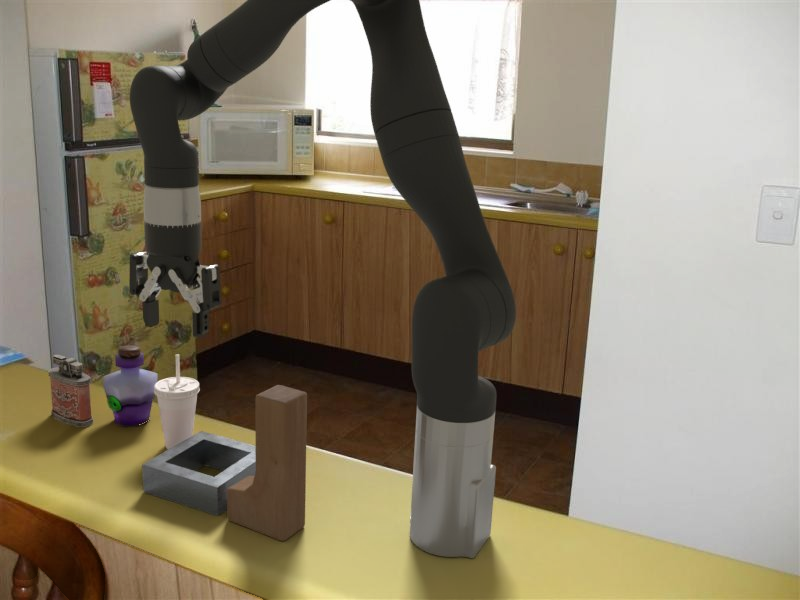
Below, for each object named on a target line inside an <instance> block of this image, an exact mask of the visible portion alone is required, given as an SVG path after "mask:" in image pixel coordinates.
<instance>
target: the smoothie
mask: <svg viewBox="0 0 800 600" xmlns="http://www.w3.org/2000/svg"><path fill="white" fill-rule="evenodd" d="M174 358H175V376H173V377H172V376H170V377H167V378H163V379H160V380H158V382H157V383H156V384H155V385H154V393H155V396H156V398H157V405H158V409H159V417H160V421H161V429H162V433H163V439H164V446H165V448H166V450H169V449H170V448H172V447H174V446H176V445H177V444H179V443H181V442H183V441H184V440H186V439H188V438H189V437H191V436H193V435H194V429H195V428H194V427H195V426H194V425H195V417H196V407H197V401H198V400H197V399H198V394H199V392H200V390H201V388H200V382H199V381H198V380H196V379H195V378H193V377H187V376H181V368H180V367H181V364H180V361H181V360H180V354H179V353H177V354H175V357H174Z"/></svg>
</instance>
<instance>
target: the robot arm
mask: <svg viewBox="0 0 800 600" xmlns="http://www.w3.org/2000/svg"><path fill="white" fill-rule="evenodd" d="M330 1H331V0H246V1H244V2H243V3H242V4H241V5H239V7H237V8H236V9H235V10H233V11H231V13H229V14H228V15H226V16H225V17H224V18H223V19H221V20H219V21H218V22H217V23H215V24H214V25H213V26H211V27H210V28H209V29H207V30H206V31H204V33H202V34H200V35H199V36H198V37H196V39H195V40H194V41H192V43H190V45H189V47H188V49H187V54H186V55H187V56H186V59H185V60H184V61H183V62H181V63H179V64H176V65H148V66H145V67H143V68H141V69H139V71H137V73H135V75H134V76H133V79H132V81H131V85H130V89H129V106H130V110H131V114H132V118H133V121H134V122H133V123H134V125H135V128H136V132H137V135H138V140H139V142H140V143H139V144H140V146H141V148H142V151H143V152H142V153H143V157H144V158H143V159H144V160H143V167H144V168H143V169H144V170H143V174H144V175H143V176H144V193H143V225H144V226H143V228H144V230H143V231H144V249H145V251H140V252H135V253H133V254H131V255H130V256H129V278H128V279H129V280H128V281H129V283H128V284H129V288H128V290H129V293H130V294H129V295H131V296H137V297H138V298H139V301H141V302H142V320H143V322H144V325H145V327H147V328H153V327H156V326H158V325H159V323H160V308H159V307H160V306H159V305H160V303H159V301H160V300H159V299H157V297H158V296H159V294H160V293H161V292H162V290H164V291H169V290H170V291H172V292H174V293H178V294H179V293H180V294H181V296H182V297H183V299H184V300H186V301H187V302H188V304H189V305H190V306H191V309H192V311H193V312H192V336H193V338H197V339H201V338H203V337H205V336H207V333H209V330H210V311H211V310H214V309H216V308H219V307H221V306H222V288H221V271H220V269H221V268H220V266H219V265H218V264H216V263H215V264H212V265H202V264H201V262H200V253H201V252H202V242H203V241H202V204H201V203H202V201H201V193H200V184H199V182H200V179H199V153H198V149H197V147H196V145H195V144H194V143H193V142H191V141H189V140H188V139H187V140H186V139H184V138H183V136H182V134H181V128H180V125H179V121H187V120H191V119H193V118H196V117H198V116H199V115H201V114H203V113H205V112H206V111H207V110H209V108H211V107H212V106H213V105H214V104H215V103H216V102H217V101H218V100H219V99H220V98H221V97H222V96H223V94H225V92H226V90H227V89H228V88H229V87H231V86H233V85H235V84H236V83H238V82H239V81H240V80H242V79H243V78H245V77H246V76H248V75H249V74H251V73H252V72H254V71H256V69H258V68H259V67H261V66H262V65H264V63H266V62H267V61H268V60H269V59H270V58H271V57H272V56H273V55H274V54H275V53H276V52H277V51H278V49H279V48H280V46H281V44H282V42H283V41H284V40H285V38H286V37H287V35H288V34H289V32H290V31H291V30H292V28H293V27H294V26H295V25H296V24H297V23H298V22H299V21H300V19H302V18H303V17H305V16H306V15H307V14H309V13H310V12H312V11H313V10H315V9H317V8H319V7H320V6H322V5H324V4H326V3H328V2H330ZM349 2H352V4H353V5H354V7H355V9H356V12H357V14H358V16H359V18H360V21H361V24H362V26H363V31H364V33H365V36H366V39H367V42H368V45H369V50H370V55H371V65H372V67H371V68H372V70H371V71H372V73H371V85H370V99H369V100H370V105H369V106H370V107H369V108H370V119H371V125H372V130H373V133H374V136H375V140H376V144H377V147H378V151H379V153H380V157H381V161H382V163H383V167H384V169H385V172H386V173H387V176H388V178H389V180H390V182H391V183H392V185H393V186H394V187H395V189H396V191H397V192H398V193H399V194H400V196H401V197H402V199H403V200H404V201H405V202H406V203H407V204H408V205H409V207H410V208H411V209H412V210H413V212H414V213H415V214H416V215H417V217H419V219H420V220H421V221H422V223H423V224H424V225H425V226H426V228H427V229H428V231H429V233H430V234H431V236H432V238H433V240H434V242H435V243H436V244H435V245H436V247H437V250H438V252H439V256H440V258H441V261H442V265H443V268H444V272H445V276H441V277H438V278H435V279H432V280H430V281H429V282H427V283H425V284H424V285H423V286H422V287H420V288H421V289H419V291H418V293H417V295H416V297H415V300H414V303H413V307H412V312H411V313H412V315H411V376H412V377H411V378H412V379H411V380H412V383H413V386H414V388H415V391H416V392H415V393H416V397H417V399H416V419H415V432H414V452H413V454H414V455H413V465H412V466H413V471H412V484H411V485H412V487H411V505H410V518H409V523H410V525H409V537H410V540H411V542H412V543H413V544H414V545H415V546H416V547H418V548H419V549H421V550H422V551H424V552H427V553H428V554H431V555H435V556H440V557H445V558H446V557H449V558H455V557H466V558H470V559H474V558H475V557H476V556H477V554H478V553H479V551H480V550H481V549H482V547H483V546H484V545H485V543H486V541H487V540H488V539H489V538H490V536H491V533H492V521H493V520H492V519H493V509H494V508H493V507H494V497H495V485H496V473H497V472H496V471H497V467H496V465H495V464H492V456H493V455H492V454H493V444H494V433H495V431H494V430H495V418H496V411H497V410H496V409H497V398H498V397H497V389H496V387H495V386H494V384H493V383H492V382H491V381H490V380H488V379H486V378H485V377H483V376H480V375H479V352H480V351H483V350H485V349H489V348H490V347H493V346H496V345H498V344H500V343H502V342H503V341H505V340H506V339H508V338H509V336H510V335H511V333H512V332H513V330H514V327H515V323H516V320H517V319H516V318H517V306H516V301H515V296H514V295H515V294H514V293H513V290H512V286H511V283H510V281H509V278H508V276H507V272H506V270H505V268H504V266H503V264H502V261H501V259H500V256H499V253H498V252H497V249H496V247H495V245H494V242H493V240H492V238H491V237H492V236H491V234H490V232H489V229H488V226H487V225H486V222H485V218H484V217H483V213H482V210H481V207H480V203H479V200H478V197H477V193H476V190H475V188H474V185H473V182H472V181H473V180H472V178H471V175H470V171H469V168H468V165H467V162H466V158H465V155H464V151H463V146H462V143H461V139H460V135H459V132H458V129H457V125H456V121H455V118H454V115H453V112H452V108H451V106H450V103H449V99H448V97H447V94H446V91H445V88H444V84H443V81H442V78H441V75H440V71H439V68H438V64H437V61H436V58H435V55H434V53H433V49H432V47H431V43H430V40H429V38H428V35H427V32H426V26H425V21H424V18H423V17H424V16H423V13H422V7H421V2H420V0H349ZM149 272H150V273H151V274H150V275H149ZM192 287H193V289H191V288H192Z"/></svg>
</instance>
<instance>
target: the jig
mask: <svg viewBox="0 0 800 600" xmlns="http://www.w3.org/2000/svg"><path fill="white" fill-rule="evenodd" d="M203 466H205V467H208V468H212V469H214V470H219V471H221V472H220V473H218V474H217V475H215V476H213V475H209V474H206V473H203V472H199V471H197V470H199V469H200V468H202V467H203ZM255 472H256V444H255V445H253V444H250V443H247V442H243V441H239V440H236V439H232V438H229V437H226V436H221V435H218V434H214V433H210V432H207V431H203V430H200V431H198V432H197V433H195V434H193V436H191V437H189V438H188V439H186V440H184V441H183V442H181V443H179V444H177V445H176V446H174V447H172V448H170V449H169V450H168V449H166V450H165V451H164V452H162V453H160V454H158V455H156V456H154V457H152V458H151V459H149V460H148V461H146V462H144V463H142V486H143V487H142V488H143V493H145V494H148V495H151V496H153V497H154V496H155V497H157V498H160V499H164V500H166V501H169V502H173V503H176V504H178V505H183V506H186V507H188V508H192V509H195V510H197V511H201V512H204V513H207V514H210V515H213V516H216V517H219V516H220V515H221V514H223V513H225V512H227V489H228V488H229V487H231V486H233V485H234V484H236V483H238V482H239V481H241V480H243V479H244V478H246V477H248V476H255Z"/></svg>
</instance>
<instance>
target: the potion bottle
mask: <svg viewBox="0 0 800 600" xmlns="http://www.w3.org/2000/svg"><path fill="white" fill-rule="evenodd" d="M114 360H115V367H118V368H120V370H117V371H114V372H111V373H109V374H106V375H104V376H103V380H102V386H103V389H104V393H105V397H106V402H107V405H108V408H109V409H110V410H111V412H112V414H113V417H114V425H117V426H120V427H123V428H132V427H134V428H135V426H136V427H140V426H139V424H142V423H144V422H146V421H147V422H148V420H149V417H150V418H151V411H152V405H153V400H155V396H156V395H155V393H154V385H155V384H156V383H157V382H158V381H159V380H158V378H159V377H158V373H157V372H154V371H150V370H146V369H143V368H140V367H141V366H143V365H145V357H144V352H141V347H140V346H138V345H130V344H129V345H122V346H119V347H118V349H117V353H116V354H115V359H114ZM149 421H150V422H151V419H150V420H149ZM148 423H149V422H148ZM143 425H144V424H142V425H141V426H143Z"/></svg>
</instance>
